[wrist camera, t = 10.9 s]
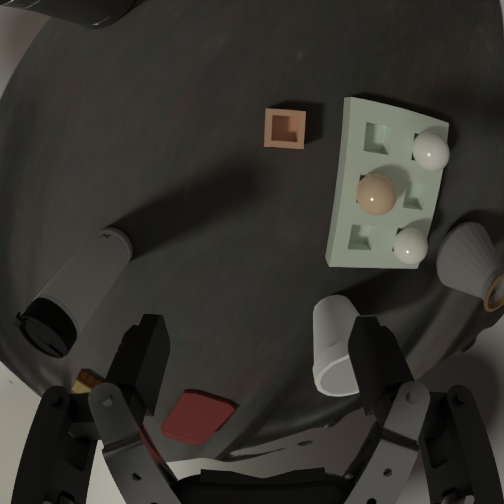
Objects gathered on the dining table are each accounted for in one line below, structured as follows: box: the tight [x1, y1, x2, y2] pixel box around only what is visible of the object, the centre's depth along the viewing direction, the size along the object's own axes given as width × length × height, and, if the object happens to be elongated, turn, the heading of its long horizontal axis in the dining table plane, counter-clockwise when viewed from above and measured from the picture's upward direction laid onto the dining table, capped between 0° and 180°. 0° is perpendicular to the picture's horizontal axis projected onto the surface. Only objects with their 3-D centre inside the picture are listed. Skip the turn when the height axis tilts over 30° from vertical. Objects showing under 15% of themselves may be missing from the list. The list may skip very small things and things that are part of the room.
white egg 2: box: [412, 131, 450, 172], centre depth 25 cm, size 5×5×5 cm
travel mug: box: [14, 227, 133, 358], centre depth 28 cm, size 6×7×20 cm
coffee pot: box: [436, 222, 504, 312], centre depth 27 cm, size 21×12×15 cm, turn 141°
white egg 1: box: [393, 228, 428, 265], centre depth 31 cm, size 5×5×5 cm
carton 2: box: [161, 390, 235, 445], centre depth 59 cm, size 12×5×25 cm
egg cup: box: [264, 108, 306, 149], centre depth 28 cm, size 4×4×2 cm
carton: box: [71, 369, 103, 393], centre depth 55 cm, size 8×16×4 cm, turn 50°
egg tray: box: [325, 97, 449, 269], centre depth 31 cm, size 21×14×2 cm, turn 178°
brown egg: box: [356, 173, 397, 216], centre depth 28 cm, size 5×5×5 cm
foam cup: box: [313, 295, 360, 396], centre depth 36 cm, size 10×9×13 cm
